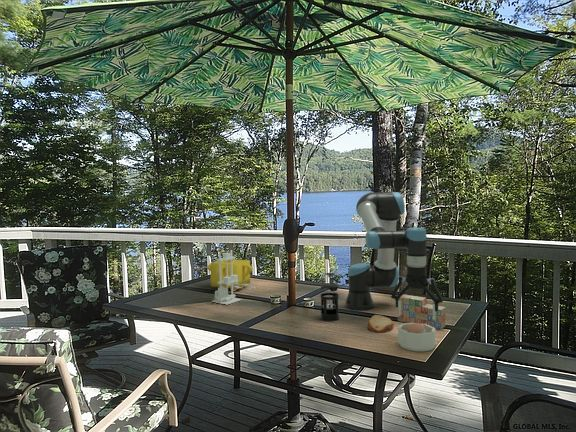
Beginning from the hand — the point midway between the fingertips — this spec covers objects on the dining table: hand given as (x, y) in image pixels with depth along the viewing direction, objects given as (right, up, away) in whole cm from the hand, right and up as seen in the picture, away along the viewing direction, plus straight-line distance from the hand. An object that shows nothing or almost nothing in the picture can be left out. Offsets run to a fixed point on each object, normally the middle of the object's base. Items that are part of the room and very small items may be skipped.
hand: (416, 317), depth 173 cm
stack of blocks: (+11, -10, +28) cm, 32 cm away
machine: (-82, -9, +71) cm, 109 cm away
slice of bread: (-10, -11, +27) cm, 31 cm away
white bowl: (0, -12, +1) cm, 12 cm away
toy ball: (+1, -11, +1) cm, 11 cm away
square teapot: (-91, -7, +110) cm, 143 cm away
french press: (-31, -10, +40) cm, 51 cm away
